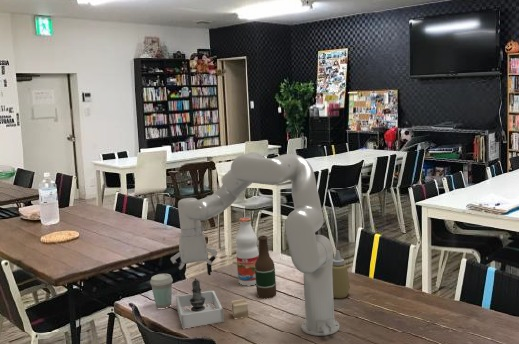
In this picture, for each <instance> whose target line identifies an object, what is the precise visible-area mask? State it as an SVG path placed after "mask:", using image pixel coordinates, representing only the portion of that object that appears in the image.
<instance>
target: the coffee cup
mask: <svg viewBox="0 0 519 344" xmlns="http://www.w3.org/2000/svg"><path fill="white" fill-rule="evenodd" d="M173 281H174V280H173V277H172V275H171V274H169V273H158V274H156V275H153V276H151V278H150V282H149V284H150V286H151V289H152V294H153V295H152V296H153V300H154V303H155V308H156V307H157V308H166V307H169V306H170V305H171V306H172V296H173V295H172V293H173V288H172V287H173ZM157 308H156V309H157Z"/></svg>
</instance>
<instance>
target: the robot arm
mask: <svg viewBox="0 0 519 344" xmlns="http://www.w3.org/2000/svg"><path fill="white" fill-rule="evenodd" d="M287 181H290V183H291V196H292V201H293V208H294V210H292V211H291V212H290V213H289V214H288V216H287V217H286V220H285V222H284V223H285V226H284V227H285V229H284V230H285V236H286V241H287V245H288V249H289V254H290V259H291V262H292V264H293V266H294V267H295V269H296V270H297V271H298V272H300V273H302V274H303V291H304V292H303V293H304V294H303V295H304V311H305V320H304V321H303V322H302V323H301V330H302V331H303V332H304V333H305V334H308V335H311V336H317V337H318V336H320V337H323V336H324V337H325V336H329V335H332V334H335V333H337V332H338V331H339V329H340V323H339V321H337V320H336V319H335V306H334V305H335V304H334V297H333V278H332V265H333V259H334V247H333V244H332V241H331V240H330V239H329V238H328V237H326V236H325V235H323V234H316V232H318V231H319V230H320V229H321V228H322V226H323V225H324V214H323V209H322V205H321V200H320V194H319V191H318V187H317V180H316V176H315V172H314V169H313V167H312V166H311V164H310V162H309V161H307V159H305V158H304V157H303V156H301V155H298V154H295V153H286V154H285V153H284V154H281V155H278V156H276V157H273V158H269V157H267V158H266V157H264V155H263V154H261V153H259V152H255V151H253V152H247V153H243V154H241V155H238V156H236V157H234V159H233V160H232V162H231V165H230V169H229V170H228V171H227V172H226V173H225V174H224V175H223V176H222V177H221V183H222V185H221V186H220V187H219V188H218V189H217V190H216V191H215V192H213V194H211V195H208V196H206V197H204V198H203V197H202V198H201V199H197V198H196V197H186V198H181V199H180V200H178V202H177V209H178V216H179V224H180V225H179V226H180V236H179V238H178V247H179V248H178V249H179V252H177V253H176V254H175V255H172V256H171V257H170V261H171V263H172V264H173V265H174V266H175V267H176V268H177V269H179V277H180V278H182V280H186V277H185V269H184V266H185V264H192V263H199V262H203V261H204V262H206V269H207V271H206V272H207V275H208V276H212V275H211V273H212V272H213V269H212V264H213V263H214V261H215V259H216V257H217V255H218V251H217V250H215V249H212V248H209V247H208V245H207V241H206V237H205V233H204V232H203V231H206V226H202V223H201V221H206V220H209V219H211V218H214V217H215V216H218V215H220V214H222V213H224V212H225V210H226V209H228V208H229V207H230V206H231V205H232V204H233V203H235V201H236V200H237V199H238V198H239V197H240V194H242V193H243V192H244V191H245V190H246V189H247V188H248V187H250V186H251V185H252V184H260V185H270V186H277V185H280V184H283V183H286V182H287ZM209 253H210V254H212V255H211V257H210V258H209ZM178 258H180V259H179V260H180V262H177V261H176V260H177V259H178Z"/></svg>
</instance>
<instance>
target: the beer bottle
mask: <svg viewBox="0 0 519 344" xmlns="http://www.w3.org/2000/svg"><path fill="white" fill-rule="evenodd" d="M268 239H269V238H268V236H267V235H260V236H257V241H258V252H259V257H258V259H257V260H256V263H255V275H256V285H255V287H256V295H257V297H258V296H259V297H260V299H264V298H265V299H264V300H268V299H273V298H274V297H276V295H277V280H276V269H275V268H276V267H275V263H274V260H273V259H272V257H271V256H270V252H269V245H268ZM259 297H258V298H259ZM267 298H268V299H267Z"/></svg>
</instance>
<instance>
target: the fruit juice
mask: <svg viewBox="0 0 519 344" xmlns="http://www.w3.org/2000/svg"><path fill="white" fill-rule="evenodd" d="M238 220H239V224H240V225H239V228H238V231H237V234H236V236H235V244H236V246H237V247H236V251H235V252H236V253H235V255H236V266H237V281H238V284H239V283H240V284H242V285H254V286H256V285H255V284H256V275H255V263H256V260H257V259H258V257H259V246H257V244H258V236H257V233H255V230H254V229H253V226H252V219H251V217H247V216H245V217H240V218H239V219H238ZM240 284H239V285H240ZM242 285H241V286H242Z"/></svg>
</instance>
